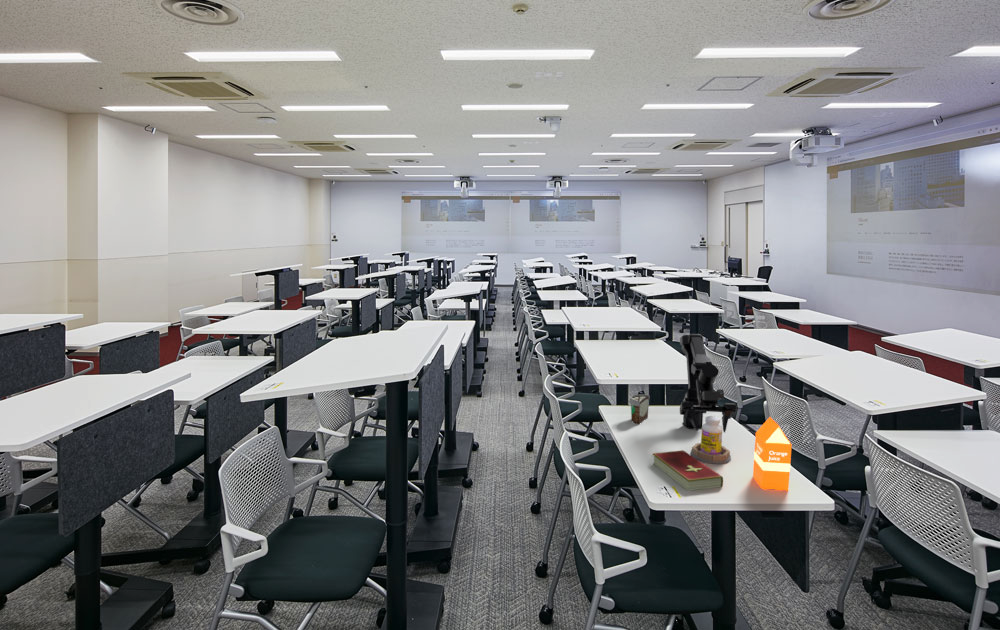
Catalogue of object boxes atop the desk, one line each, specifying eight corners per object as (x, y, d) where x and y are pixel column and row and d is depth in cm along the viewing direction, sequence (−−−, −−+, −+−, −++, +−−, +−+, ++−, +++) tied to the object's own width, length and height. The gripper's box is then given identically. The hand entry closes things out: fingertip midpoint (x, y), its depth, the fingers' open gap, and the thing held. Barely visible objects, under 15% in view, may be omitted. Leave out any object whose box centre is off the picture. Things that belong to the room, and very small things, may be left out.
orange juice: (778, 478, 168) (782, 417, 165) (788, 491, 159) (793, 426, 156) (752, 476, 169) (756, 416, 166) (761, 489, 160) (765, 425, 158)
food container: (635, 414, 230) (635, 392, 229) (648, 417, 226) (649, 394, 225) (624, 422, 220) (624, 399, 219) (638, 425, 217) (639, 401, 215)
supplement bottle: (697, 454, 185) (698, 418, 183) (704, 448, 190) (706, 414, 188) (716, 459, 180) (718, 422, 179) (724, 453, 185) (725, 418, 183)
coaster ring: (718, 448, 192) (719, 441, 192) (738, 463, 179) (738, 455, 179) (684, 449, 191) (684, 442, 190) (701, 464, 178) (701, 457, 178)
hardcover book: (683, 461, 182) (684, 449, 182) (722, 488, 162) (723, 475, 161) (652, 464, 179) (652, 452, 179) (687, 492, 159) (688, 479, 159)
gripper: (682, 379, 189) (686, 419, 180) (737, 381, 186) (744, 422, 177) (677, 394, 198) (681, 433, 189) (730, 396, 195) (737, 436, 186)
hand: (710, 431), depth 185 cm, fingers open, 9 cm apart
